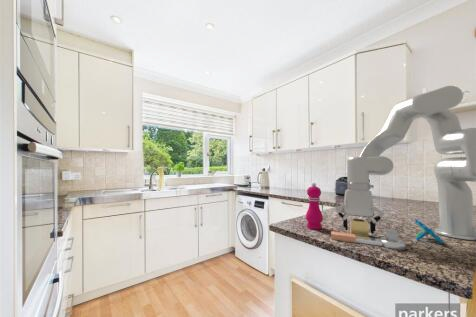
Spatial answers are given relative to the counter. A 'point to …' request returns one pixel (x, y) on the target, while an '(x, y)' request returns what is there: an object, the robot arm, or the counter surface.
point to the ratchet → (373, 239)
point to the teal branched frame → (426, 232)
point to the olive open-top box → (359, 227)
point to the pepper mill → (314, 208)
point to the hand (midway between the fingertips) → (358, 230)
